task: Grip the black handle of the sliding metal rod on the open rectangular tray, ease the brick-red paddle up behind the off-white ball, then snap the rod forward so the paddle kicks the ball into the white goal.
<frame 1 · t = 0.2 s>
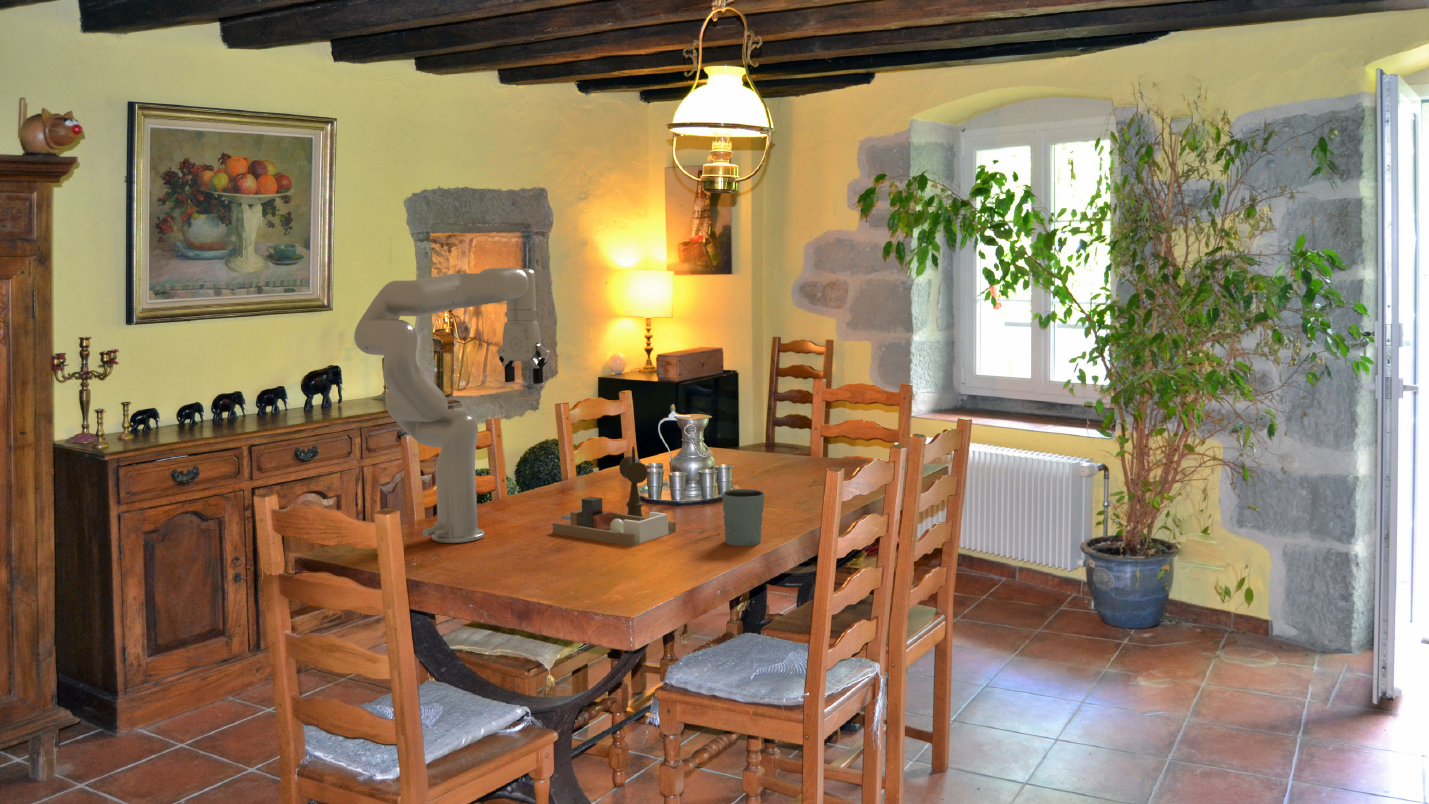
hand: (524, 382, 298), 36 cm above the table, fingers open, 9 cm apart
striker: (583, 511, 286), point 5 cm above the table, slide at 0.0 cm
ball: (617, 532, 281), point 1 cm above the table, touching open rectangular tray
kendama: (634, 522, 298), on the table
open rectangular tray: (614, 537, 281), on the table
grey cup: (743, 542, 275), on the table
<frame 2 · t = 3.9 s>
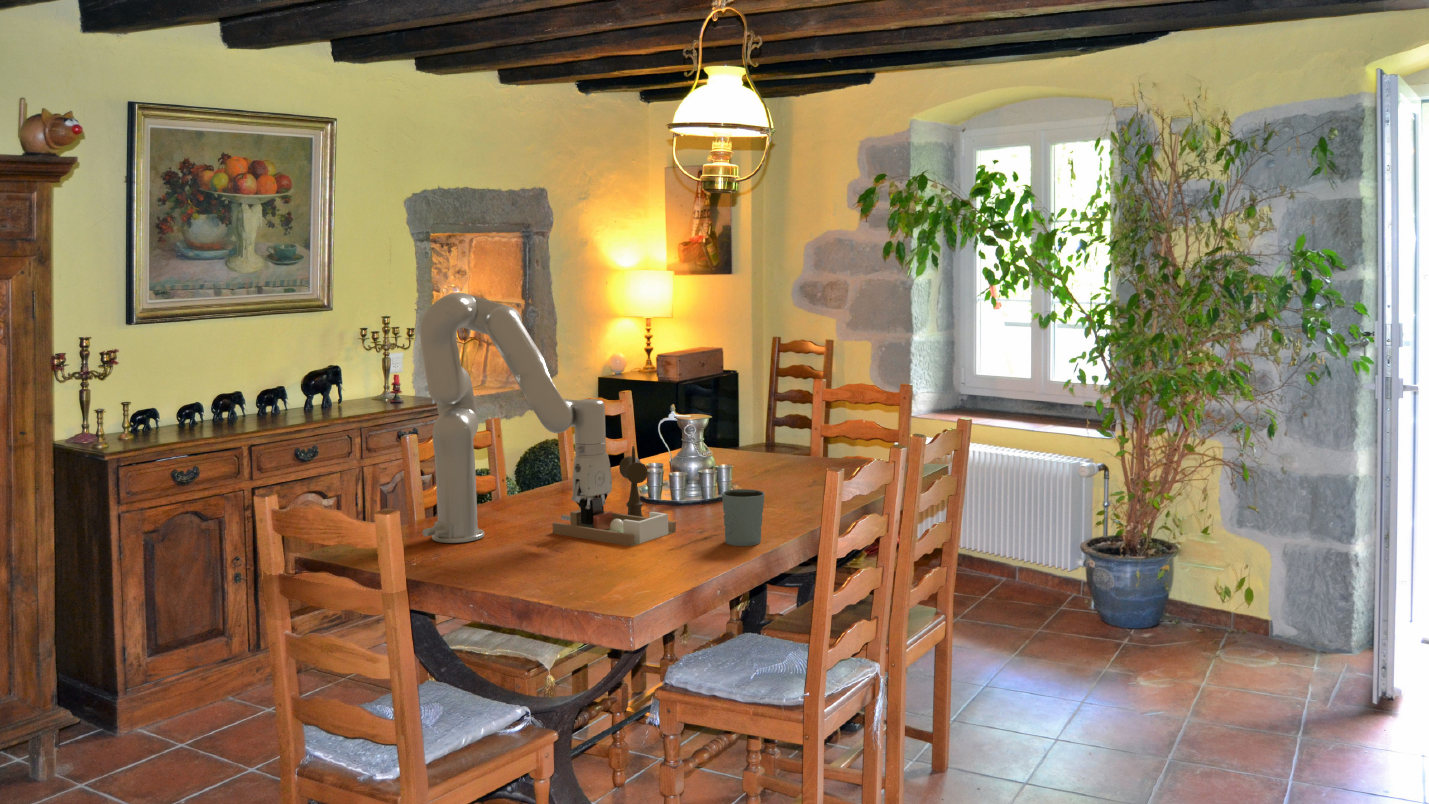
hand: (592, 521, 285), 3 cm above the table, fingers closed on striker, 3 cm apart
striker: (583, 511, 286), point 5 cm above the table, slide at 0.0 cm, touching gripper
everything else where it was.
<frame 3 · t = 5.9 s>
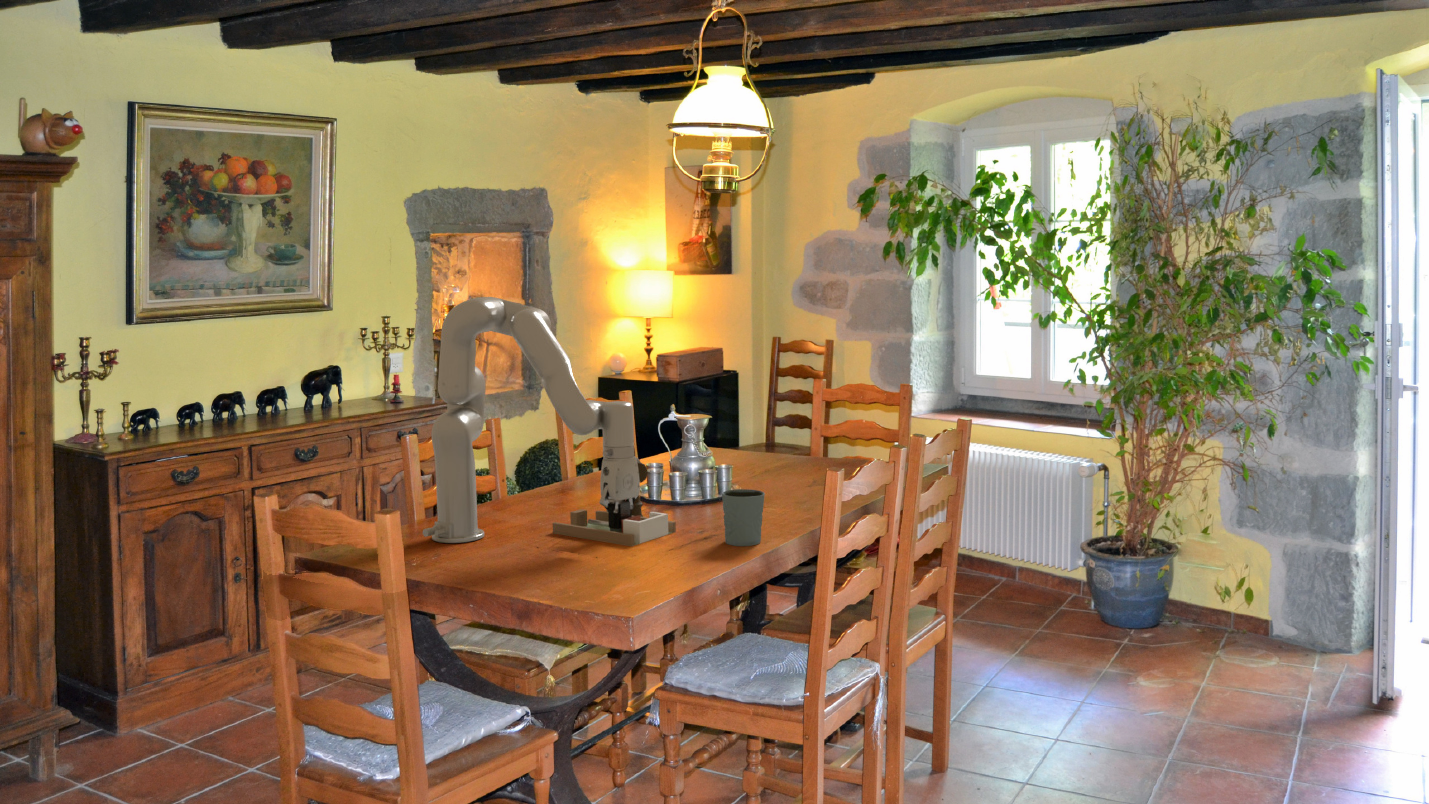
hand: (620, 525, 280), 3 cm above the table, fingers closed on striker, 3 cm apart
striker: (610, 515, 281), point 5 cm above the table, slide at 9.0 cm, touching gripper
ball: (648, 528, 275), point 3 cm above the table, tilted 106°, touching open rectangular tray
everything else where it was.
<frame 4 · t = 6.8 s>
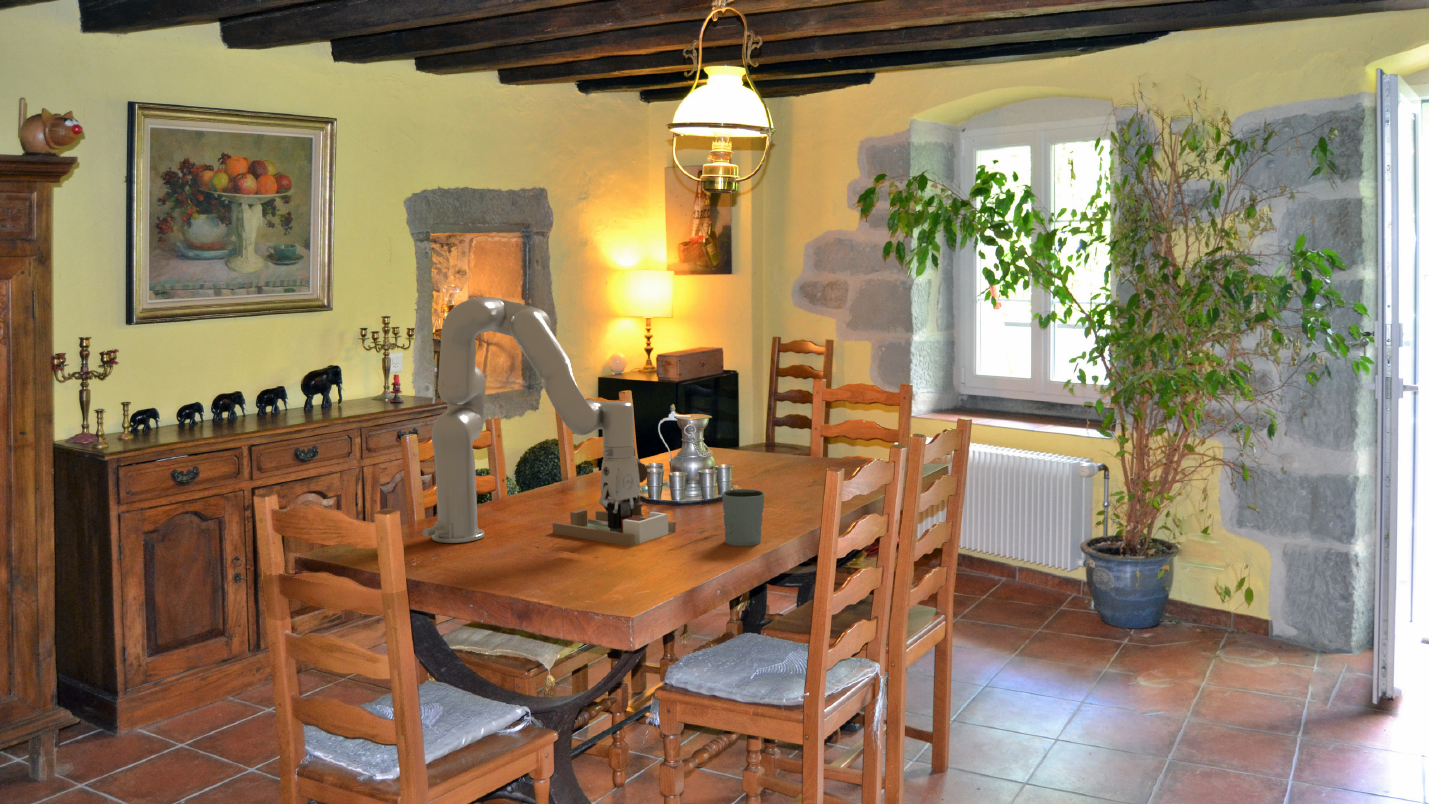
hand: (620, 525, 280), 3 cm above the table, fingers open, 4 cm apart
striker: (610, 515, 281), point 5 cm above the table, slide at 9.0 cm
ball: (641, 523, 276), point 4 cm above the table, tilted 149°, touching open rectangular tray
everything else where it was.
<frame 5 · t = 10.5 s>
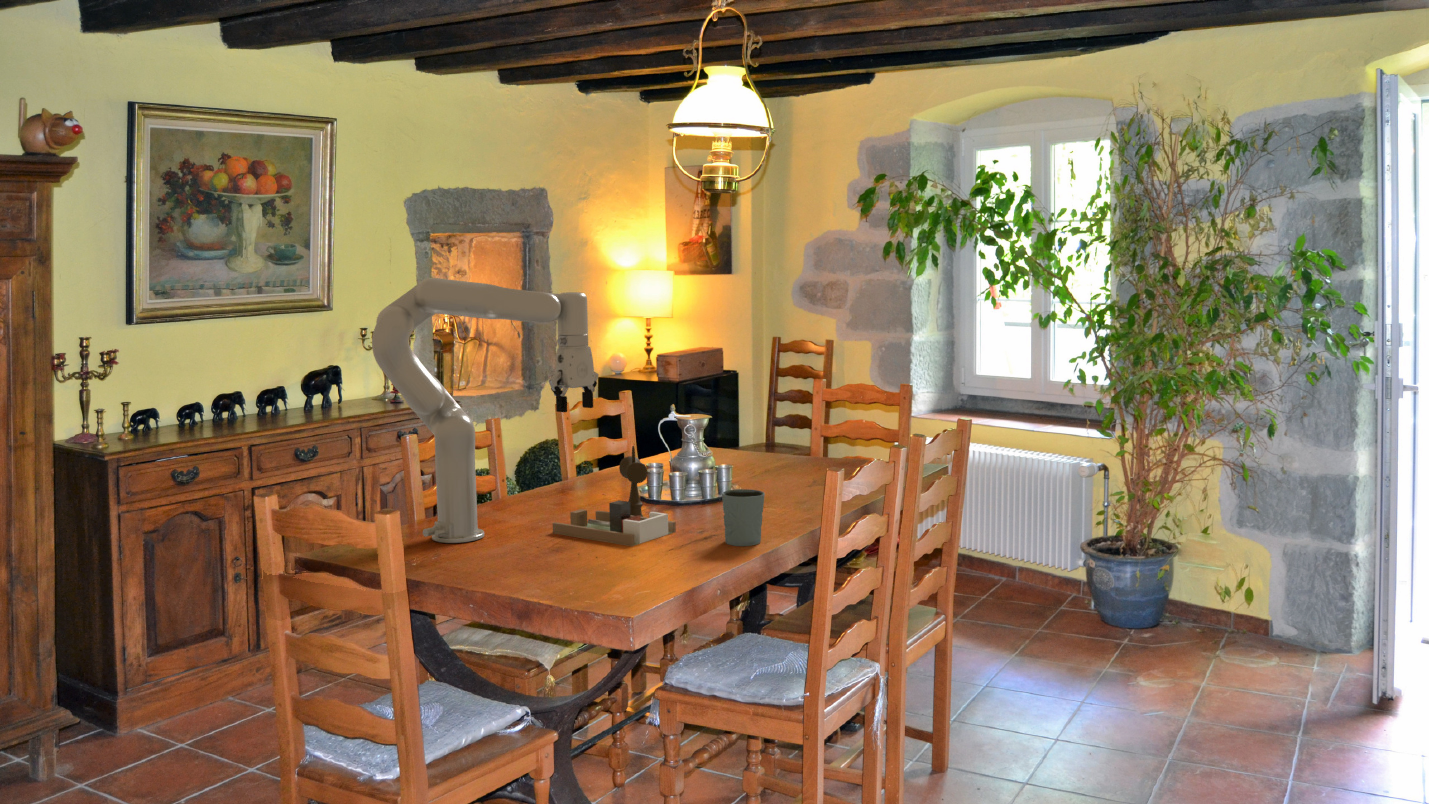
hand: (575, 409, 289), 30 cm above the table, fingers open, 9 cm apart
ball: (644, 525, 276), point 4 cm above the table, tilted 134°, touching open rectangular tray
everything else where it was.
at the end: ball inside the target area (0.1 cm from its centre), point 4.2 cm above the table; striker slide at 9.0 cm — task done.
